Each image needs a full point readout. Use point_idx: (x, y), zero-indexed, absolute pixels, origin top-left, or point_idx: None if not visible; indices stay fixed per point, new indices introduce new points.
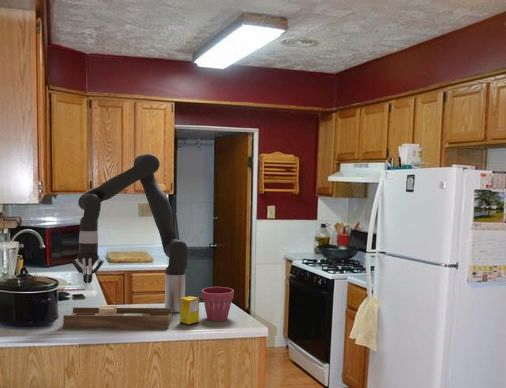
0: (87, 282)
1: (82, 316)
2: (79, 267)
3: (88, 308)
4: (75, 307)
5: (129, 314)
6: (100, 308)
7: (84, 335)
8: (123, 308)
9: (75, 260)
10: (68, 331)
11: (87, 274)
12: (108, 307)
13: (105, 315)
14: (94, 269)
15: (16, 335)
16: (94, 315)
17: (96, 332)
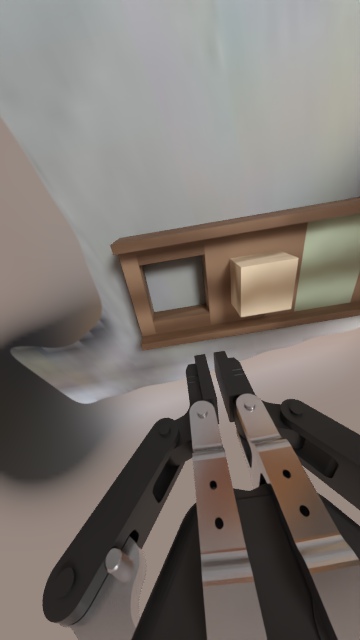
0: (204, 355)
1: (196, 341)
2: (147, 473)
3: (174, 244)
4: (118, 244)
5: (325, 238)
6: (245, 314)
7: None
8: (314, 220)
9: (101, 622)
10: (171, 348)
11: (216, 401)
12: (271, 296)
13: (261, 325)
14: (300, 460)
15: (81, 386)
16: (228, 331)
17: (235, 343)
